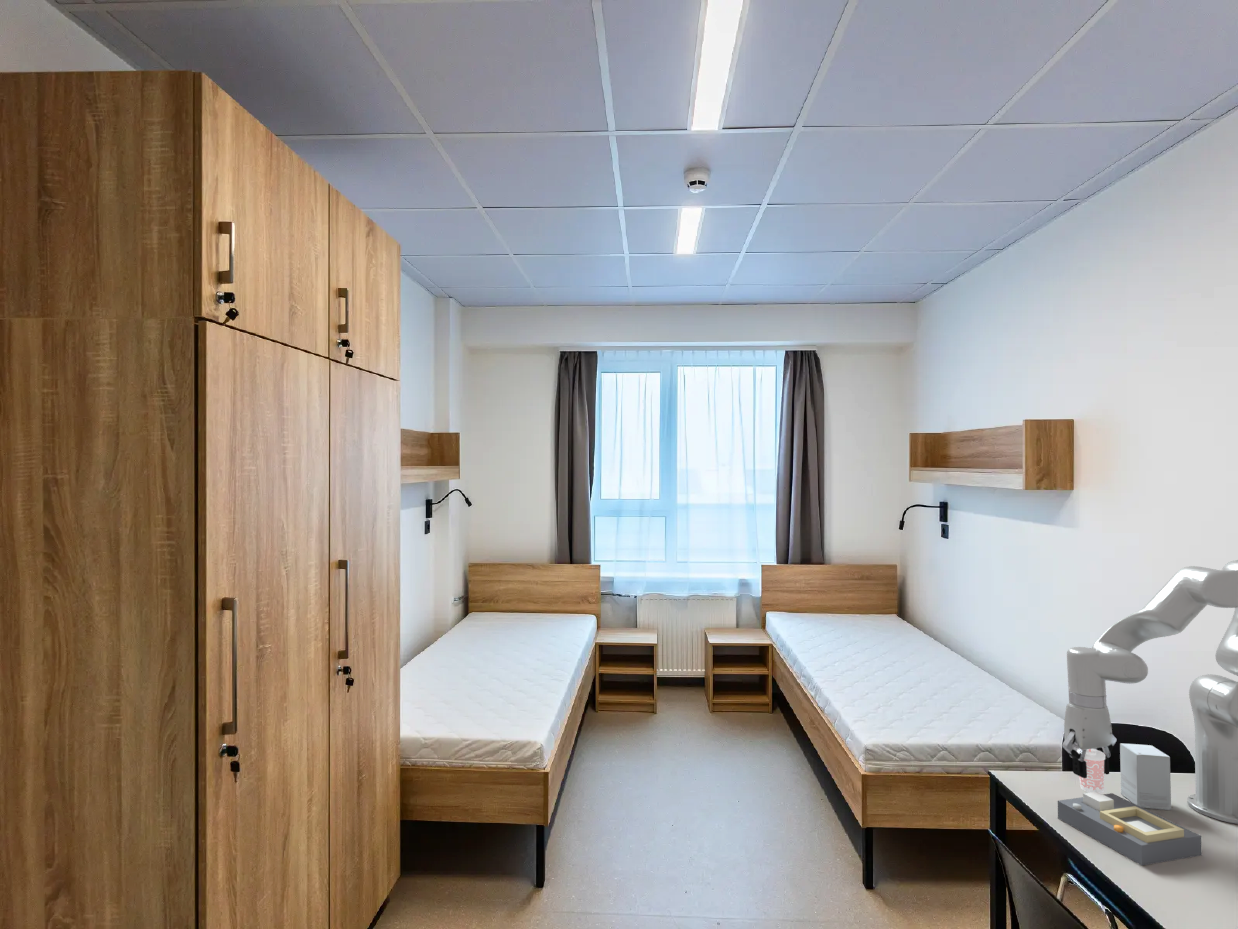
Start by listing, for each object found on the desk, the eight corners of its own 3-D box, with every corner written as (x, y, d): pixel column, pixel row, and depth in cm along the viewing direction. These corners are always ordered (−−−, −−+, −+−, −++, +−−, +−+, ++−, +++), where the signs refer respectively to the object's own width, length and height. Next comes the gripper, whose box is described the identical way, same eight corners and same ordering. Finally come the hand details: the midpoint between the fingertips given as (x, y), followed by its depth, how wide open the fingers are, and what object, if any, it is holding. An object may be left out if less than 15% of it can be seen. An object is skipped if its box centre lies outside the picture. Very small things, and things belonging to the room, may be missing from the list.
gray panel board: (1112, 810, 154) (1112, 786, 154) (1201, 855, 135) (1201, 828, 135) (1057, 818, 150) (1057, 794, 150) (1141, 865, 131) (1141, 838, 132)
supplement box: (1172, 811, 154) (1171, 757, 154) (1136, 807, 155) (1136, 754, 155) (1153, 796, 161) (1152, 744, 161) (1119, 793, 162) (1118, 742, 163)
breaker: (1096, 809, 150) (1096, 791, 150) (1113, 817, 146) (1113, 799, 146) (1083, 811, 149) (1082, 793, 149) (1099, 819, 145) (1099, 801, 145)
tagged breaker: (1138, 839, 141) (1138, 820, 141) (1158, 849, 137) (1157, 830, 137) (1124, 841, 140) (1124, 822, 140) (1143, 851, 136) (1143, 832, 136)
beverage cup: (1072, 789, 159) (1069, 731, 160) (1082, 781, 163) (1079, 725, 163) (1102, 798, 154) (1099, 738, 155) (1111, 790, 158) (1108, 732, 158)
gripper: (1100, 691, 165) (1104, 763, 164) (1045, 698, 161) (1049, 772, 160) (1130, 700, 158) (1134, 775, 157) (1073, 708, 154) (1077, 785, 153)
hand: (1091, 773), depth 159 cm, fingers closed on beverage cup, 6 cm apart
